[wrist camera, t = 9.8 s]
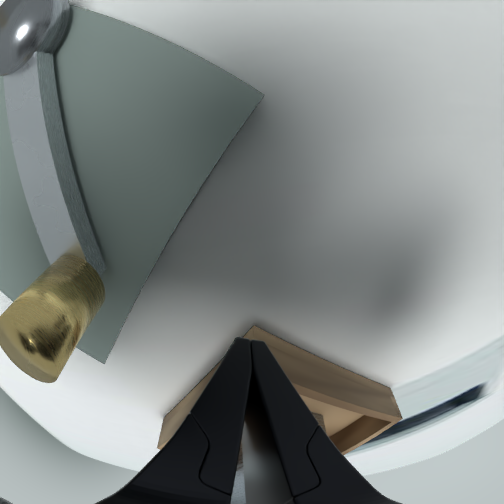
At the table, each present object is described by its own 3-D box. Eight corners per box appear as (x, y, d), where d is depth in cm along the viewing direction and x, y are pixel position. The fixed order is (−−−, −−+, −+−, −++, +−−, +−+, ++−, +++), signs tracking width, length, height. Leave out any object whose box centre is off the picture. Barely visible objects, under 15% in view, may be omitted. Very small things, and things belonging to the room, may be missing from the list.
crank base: (32, -2, 5) (8, -10, 4) (262, 97, 9) (265, 91, 7) (-39, 235, 10) (-58, 248, 9) (110, 351, 13) (98, 376, 12)
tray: (253, 325, 13) (254, 366, 10) (390, 388, 15) (402, 418, 13) (163, 417, 16) (157, 448, 14) (286, 455, 19) (288, 480, 17)
